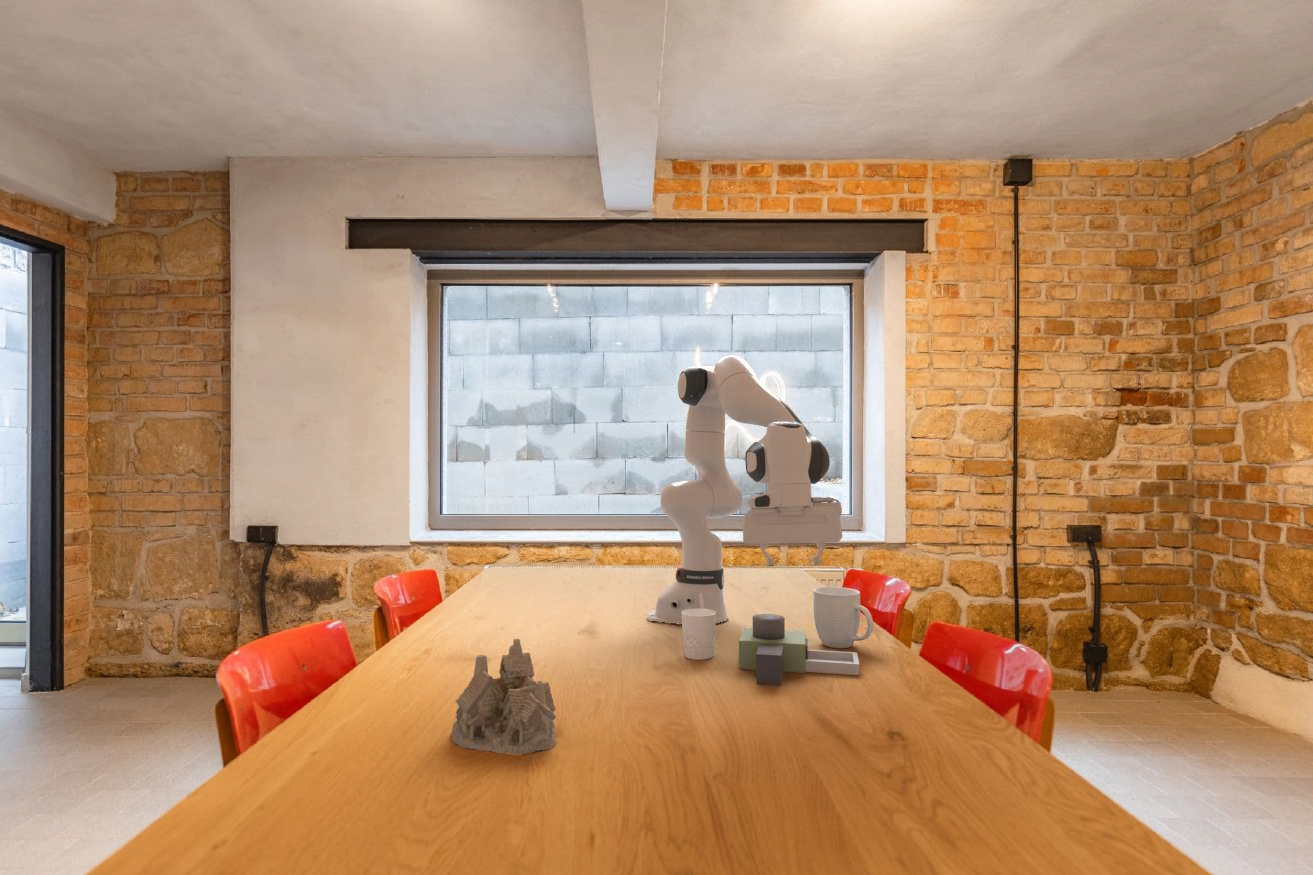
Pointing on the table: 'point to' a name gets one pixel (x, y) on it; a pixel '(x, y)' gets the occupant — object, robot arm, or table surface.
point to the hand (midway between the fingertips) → (793, 565)
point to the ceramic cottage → (505, 708)
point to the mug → (839, 616)
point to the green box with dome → (792, 649)
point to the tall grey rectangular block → (769, 664)
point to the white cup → (698, 633)
